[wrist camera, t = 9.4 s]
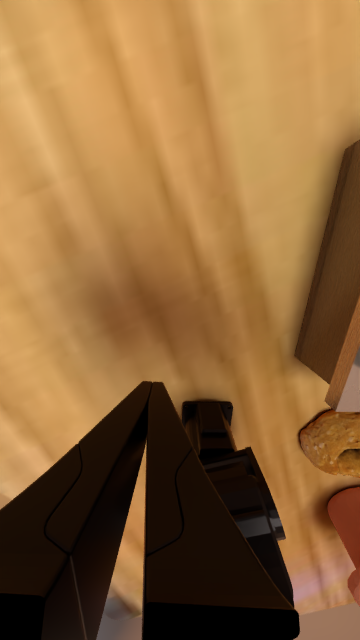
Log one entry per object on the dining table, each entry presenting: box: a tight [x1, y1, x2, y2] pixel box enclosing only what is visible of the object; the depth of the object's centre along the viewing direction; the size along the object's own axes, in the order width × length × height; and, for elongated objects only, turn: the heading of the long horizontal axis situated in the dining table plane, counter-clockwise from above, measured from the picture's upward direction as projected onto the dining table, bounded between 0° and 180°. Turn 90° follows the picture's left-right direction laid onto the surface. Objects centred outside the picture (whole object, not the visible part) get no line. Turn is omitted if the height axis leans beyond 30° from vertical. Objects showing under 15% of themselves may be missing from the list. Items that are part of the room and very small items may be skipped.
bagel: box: [300, 410, 360, 478], centre depth 24 cm, size 10×11×5 cm
